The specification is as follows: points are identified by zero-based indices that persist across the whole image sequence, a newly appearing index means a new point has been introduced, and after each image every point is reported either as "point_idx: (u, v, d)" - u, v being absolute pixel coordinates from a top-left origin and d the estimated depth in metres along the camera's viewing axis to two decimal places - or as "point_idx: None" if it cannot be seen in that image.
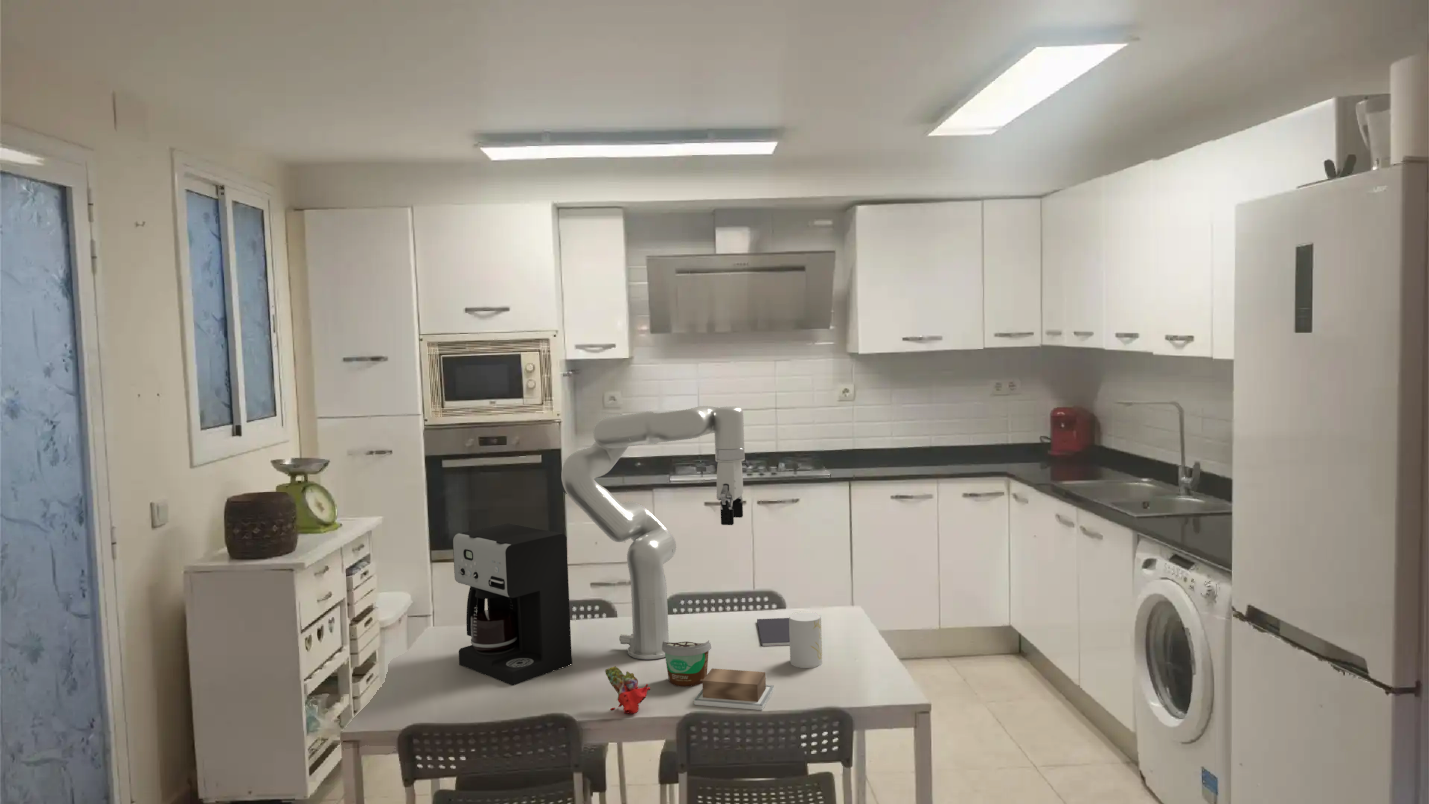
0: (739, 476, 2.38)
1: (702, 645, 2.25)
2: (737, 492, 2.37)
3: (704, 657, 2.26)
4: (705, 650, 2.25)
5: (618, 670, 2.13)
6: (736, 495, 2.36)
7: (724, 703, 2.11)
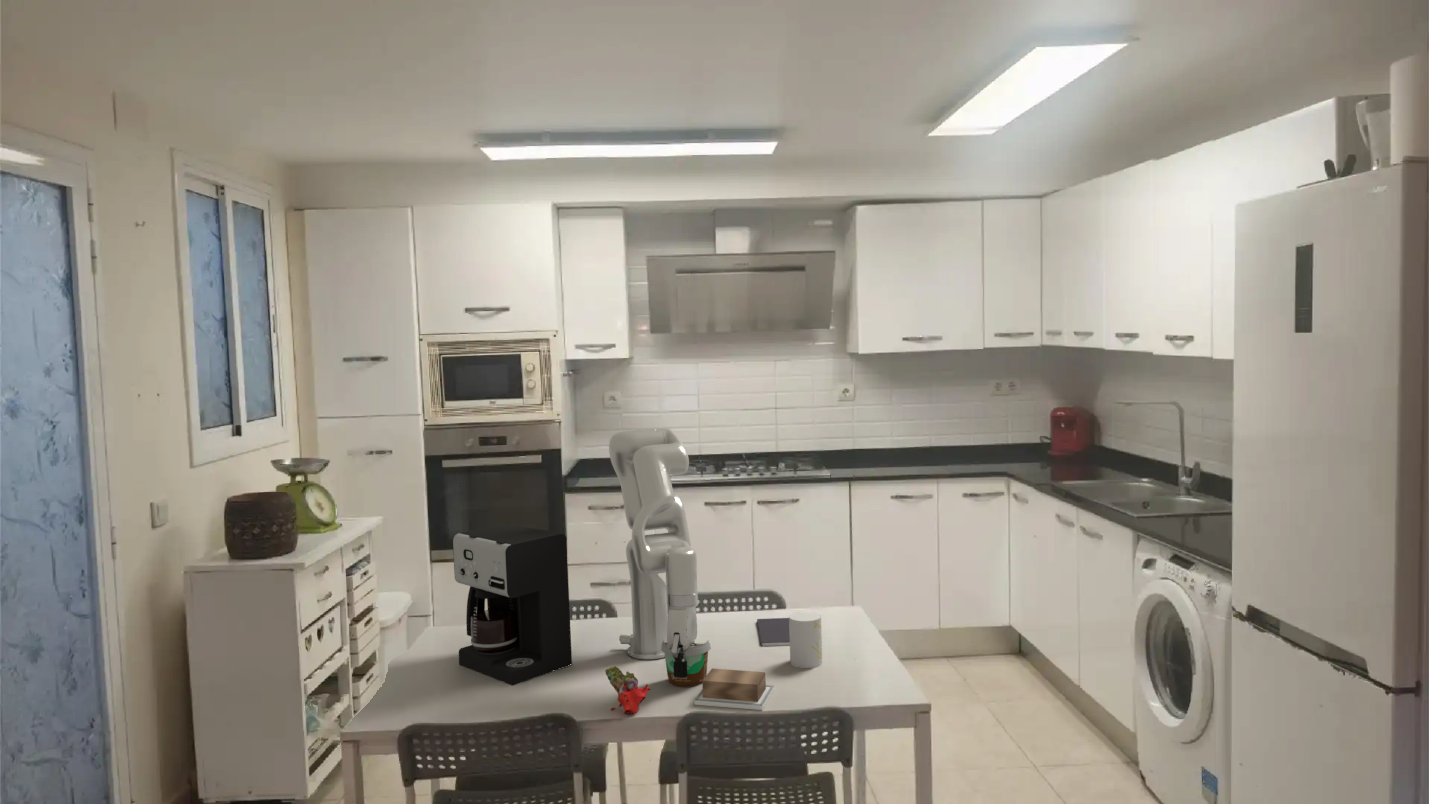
0: (692, 622, 2.24)
1: (701, 645, 2.24)
2: (689, 640, 2.23)
3: (704, 658, 2.26)
4: (704, 650, 2.25)
5: (618, 670, 2.13)
6: (688, 643, 2.22)
7: (724, 703, 2.11)
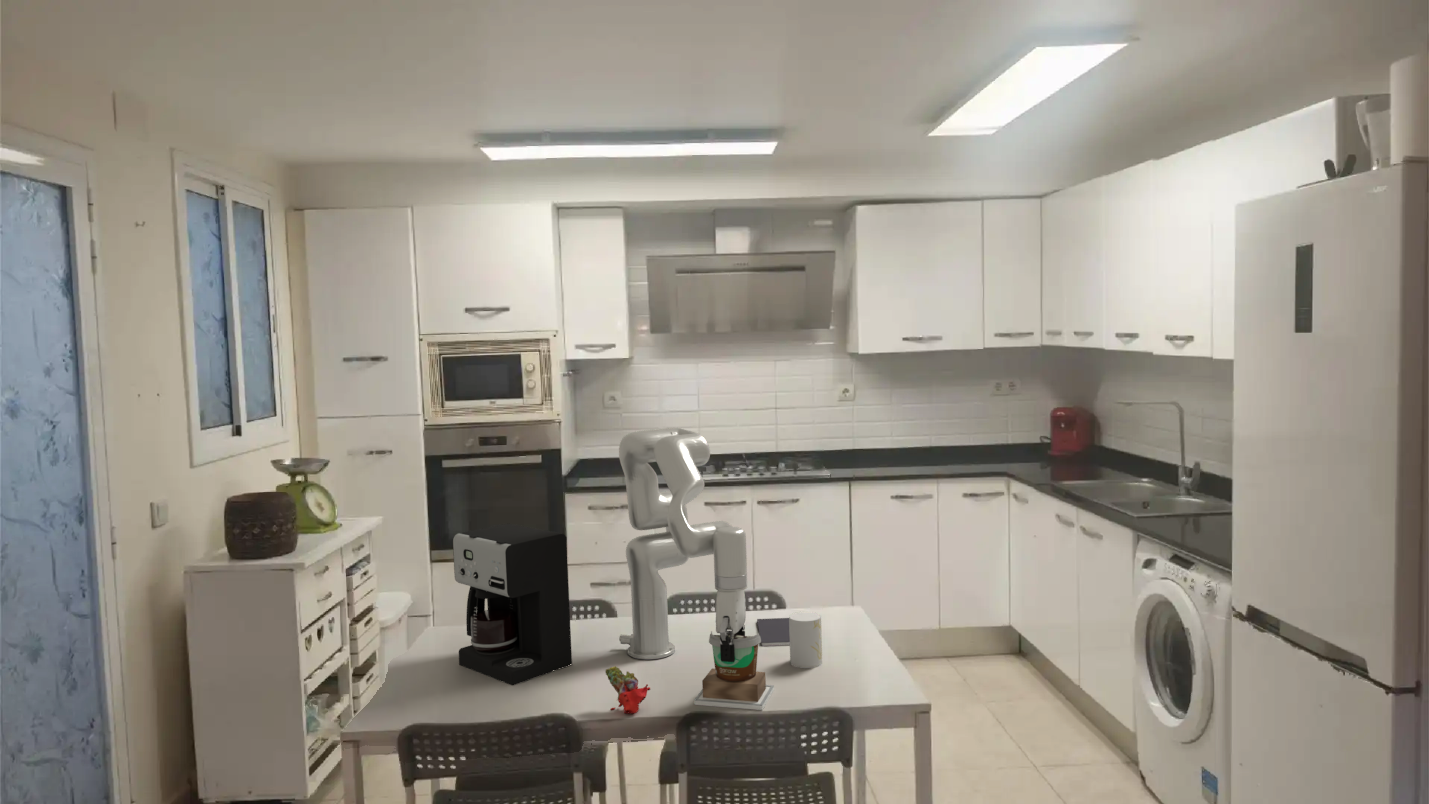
0: (741, 605, 2.14)
1: (751, 638, 2.13)
2: (739, 624, 2.13)
3: (753, 651, 2.14)
4: (754, 643, 2.13)
5: (618, 670, 2.13)
6: (738, 628, 2.12)
7: (724, 703, 2.11)
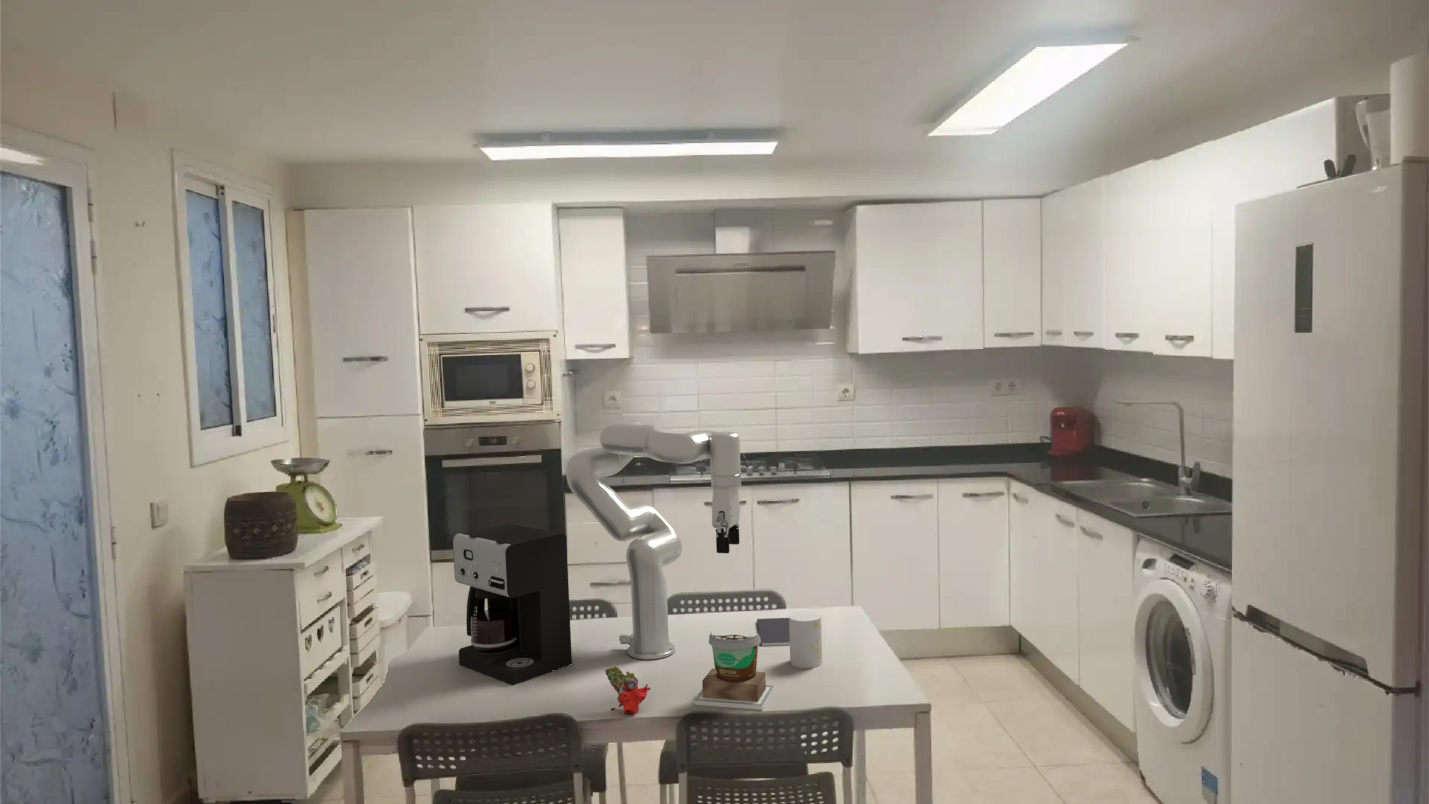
0: (735, 503, 2.33)
1: (751, 638, 2.13)
2: (733, 519, 2.32)
3: (753, 652, 2.14)
4: (754, 644, 2.13)
5: (618, 670, 2.13)
6: (732, 522, 2.32)
7: (724, 703, 2.11)
